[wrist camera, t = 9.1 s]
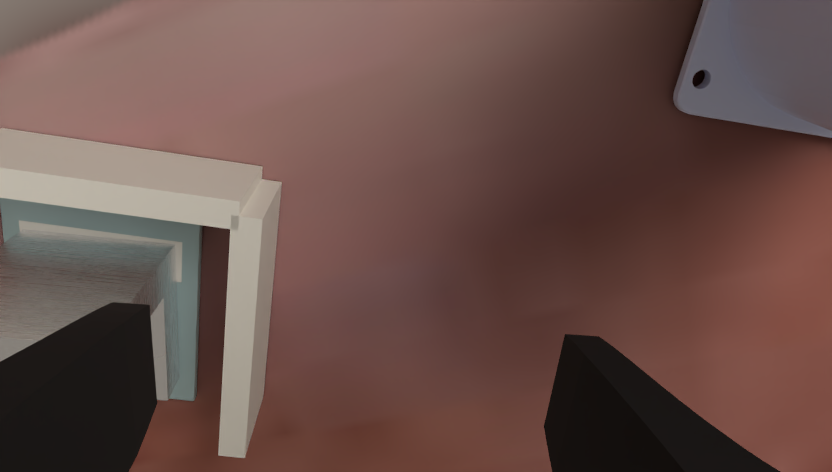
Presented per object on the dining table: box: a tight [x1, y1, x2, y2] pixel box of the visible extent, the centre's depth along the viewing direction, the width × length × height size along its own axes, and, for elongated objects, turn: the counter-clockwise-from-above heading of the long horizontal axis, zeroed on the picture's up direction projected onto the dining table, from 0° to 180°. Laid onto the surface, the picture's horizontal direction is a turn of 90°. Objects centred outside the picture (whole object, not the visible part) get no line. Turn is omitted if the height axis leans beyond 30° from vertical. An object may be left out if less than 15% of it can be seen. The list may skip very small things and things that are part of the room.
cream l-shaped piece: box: [0, 128, 282, 458], centre depth 19 cm, size 8×8×3 cm
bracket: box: [0, 229, 180, 401], centre depth 18 cm, size 5×4×6 cm
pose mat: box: [0, 198, 202, 401], centre depth 20 cm, size 7×6×1 cm
